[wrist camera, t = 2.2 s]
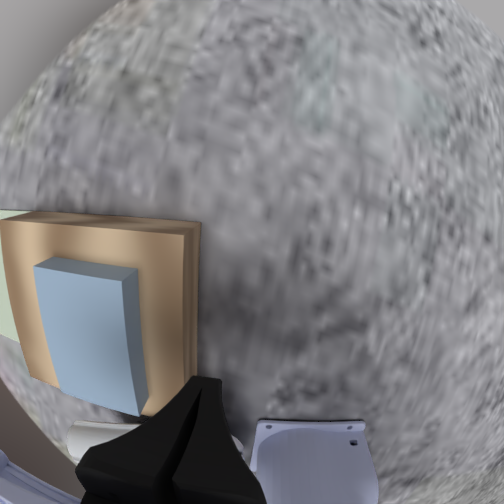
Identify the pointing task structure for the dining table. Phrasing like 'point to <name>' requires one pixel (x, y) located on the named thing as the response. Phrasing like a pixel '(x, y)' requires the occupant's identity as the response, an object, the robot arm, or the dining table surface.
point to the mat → (6, 291)
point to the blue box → (94, 331)
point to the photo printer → (102, 436)
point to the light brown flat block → (118, 254)
